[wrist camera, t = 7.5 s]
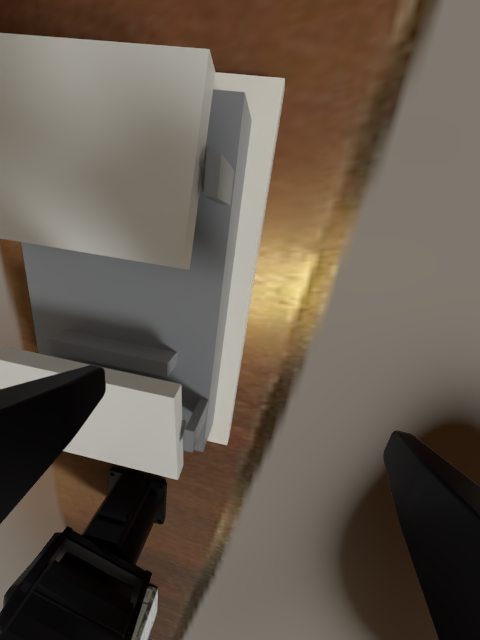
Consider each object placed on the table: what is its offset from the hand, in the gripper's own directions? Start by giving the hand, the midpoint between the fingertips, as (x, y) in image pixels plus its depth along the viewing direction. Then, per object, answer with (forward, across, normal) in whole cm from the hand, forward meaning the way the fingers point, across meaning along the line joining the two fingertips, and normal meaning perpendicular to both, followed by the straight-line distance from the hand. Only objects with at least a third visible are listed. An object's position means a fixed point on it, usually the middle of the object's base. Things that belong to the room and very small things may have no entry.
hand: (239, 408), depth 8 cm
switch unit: (+12, +9, 0) cm, 15 cm away
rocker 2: (+6, +9, +7) cm, 13 cm away
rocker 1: (+6, +9, -7) cm, 13 cm away
